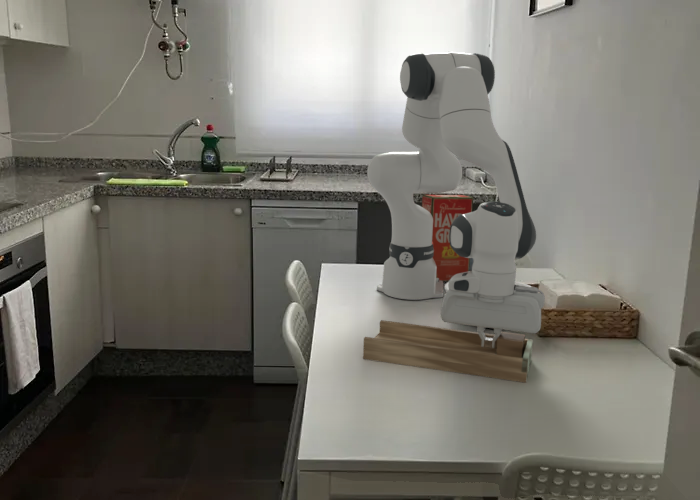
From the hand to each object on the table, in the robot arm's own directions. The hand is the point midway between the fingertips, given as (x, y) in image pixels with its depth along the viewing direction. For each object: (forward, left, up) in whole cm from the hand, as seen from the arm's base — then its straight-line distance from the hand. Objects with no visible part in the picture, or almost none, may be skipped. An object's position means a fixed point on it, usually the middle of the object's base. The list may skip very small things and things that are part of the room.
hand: (488, 347), depth 146 cm
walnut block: (0, +4, -1) cm, 5 cm away
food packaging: (-62, -22, -3) cm, 66 cm away
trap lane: (+2, -8, -3) cm, 9 cm away
